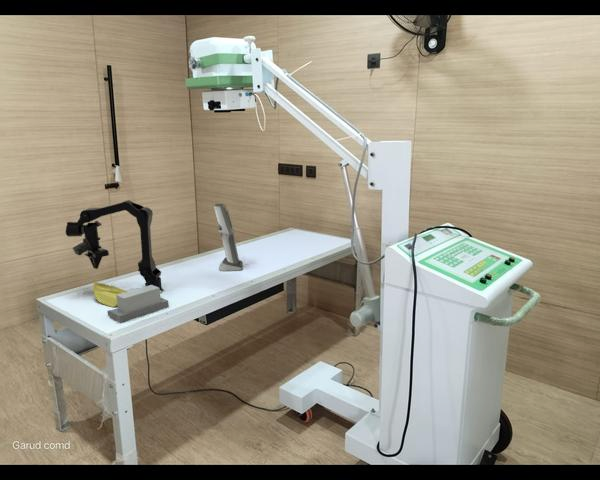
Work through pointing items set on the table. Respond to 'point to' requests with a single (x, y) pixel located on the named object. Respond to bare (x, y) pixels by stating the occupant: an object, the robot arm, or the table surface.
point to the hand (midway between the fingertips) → (95, 268)
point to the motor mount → (138, 303)
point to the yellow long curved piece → (107, 294)
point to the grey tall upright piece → (227, 240)
